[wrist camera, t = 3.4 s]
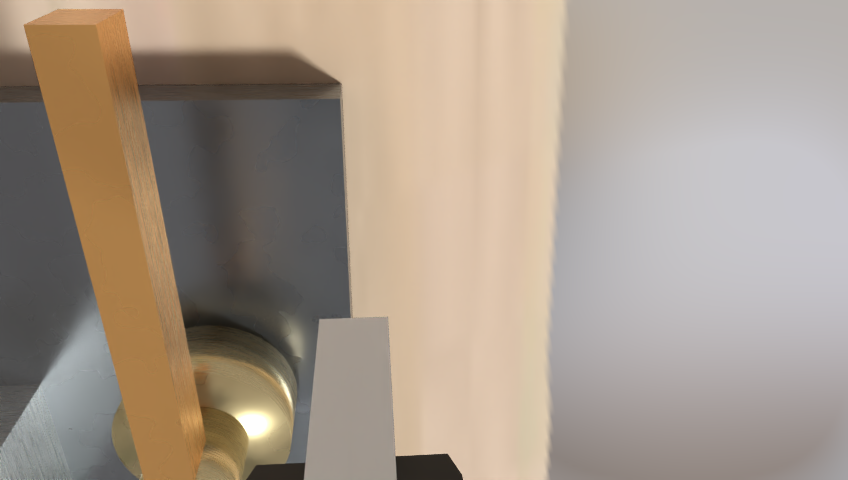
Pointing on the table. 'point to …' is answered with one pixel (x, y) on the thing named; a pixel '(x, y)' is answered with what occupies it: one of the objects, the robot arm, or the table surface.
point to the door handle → (150, 275)
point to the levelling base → (190, 253)
